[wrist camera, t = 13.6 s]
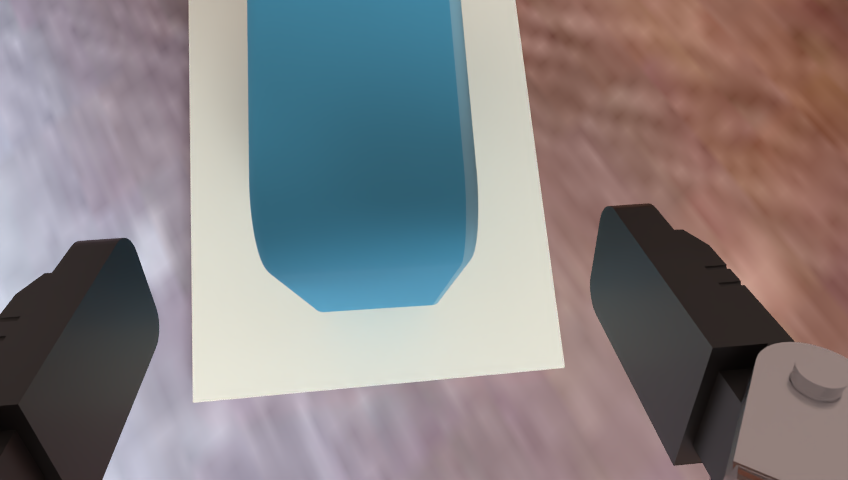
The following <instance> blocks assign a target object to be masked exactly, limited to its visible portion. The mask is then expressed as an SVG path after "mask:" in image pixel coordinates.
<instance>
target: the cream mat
mask: <svg viewBox="0 0 848 480" xmlns="http://www.w3.org/2000/svg"><path fill="white" fill-rule="evenodd" d="M461 7H462V18H463V29H464V40H465V50H466V61H467V72H468V83H469V94H470V104H471V115H472V126H473V137H474V148H475V158H476V169H477V183H478V231H477V241H476V247H475V251H474V254H473V257H472V258H471V260H470V261H469V263H468V264H467V265H466V267H465V268H464V269H463V271H462V272H461V273H460V274H459V276H458V277H457V278H456V280H455V281H454V282H453V284H452V285H451V286H450V287H449V289H448V290H447V291H446V293H445V294H444V295H443V297H442V298H441V299H440V300H439V302H438V303H437V304H435V305H427V306H411V307H396V308H380V309H365V310H350V311H334V312H319V311H317V310H316V309H315V308H313V307H312V306H311V305H310V304H308V303H307V302H306V301H304V300H303V299H302V298H301V297H299V296H298V295H297V294H295V293H294V292H293V291H292V290H290V289H289V288H288V287H287V286H285V285H284V284H283V283H281V282H280V281H279V280H278V279H276V278H275V277H274V276H272V275H271V274H270V273H269V272H268V271H267V270H266V269H265V267H264V265H263V264H262V261H261V259H260V256H259V253H258V249H257V246H256V241H255V237H254V231H253V224H252V217H251V208H250V193H249V132H248V41H247V0H189V85H190V176H191V266H192V357H193V403H195V402H206V401H217V400H227V399H238V398H248V397H259V396H270V395H280V394H291V393H302V392H312V391H323V390H333V389H344V388H355V387H365V386H376V385H387V384H397V383H408V382H418V381H429V380H440V379H450V378H461V377H472V376H482V375H493V374H503V373H514V372H525V371H535V370H546V369H557V368H565V366H564V358H563V351H562V343H561V336H560V329H559V321H558V314H557V306H556V299H555V291H554V284H553V277H552V269H551V262H550V254H549V247H548V240H547V232H546V225H545V217H544V210H543V202H542V195H541V188H540V180H539V173H538V165H537V158H536V150H535V143H534V136H533V128H532V121H531V113H530V106H529V99H528V91H527V84H526V76H525V69H524V61H523V54H522V47H521V39H520V32H519V24H518V17H517V9H516V2H515V0H461Z"/></svg>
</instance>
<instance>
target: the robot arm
mask: <svg viewBox="0 0 848 480" xmlns="http://www.w3.org/2000/svg"><path fill="white" fill-rule="evenodd" d="M590 292H591V299H592V304H593V308H594V310H595V313H596V315H597V317H598V319H599V321H600V323H601V325H602V327H603V329H604V331H605V333H606V335H607V336H608V338H609V340H610V342H611V344H612V346H613V348H614V350H615V352H616V354H617V356H618V358H619V360H620V362H621V364H622V366H623V368H624V370H625V372H626V374H627V375H628V377H629V379H630V381H631V383H632V385H633V387H634V389H635V391H636V393H637V395H638V397H639V399H640V401H641V403H642V405H643V407H644V409H645V411H646V413H647V415H648V416H649V418H650V420H651V422H652V424H653V426H654V428H655V430H656V432H657V434H658V436H659V438H660V440H661V442H662V444H663V446H664V448H665V450H666V452H667V454H668V455H669V457H670V459H671V461H672V463H673V465H674V466H675V465H685V464H696V463H703V465H704V466H705V468H706V470H707V472H708V473H709V475H710V479H709V480H848V359H847V358H845V357H843V356H842V355H840V354H837V353H835V352H833V351H831V350H828V349H825V348H822V347H819V346H815V345H811V344H806V343H800V342H794V340H793V339H792V338H791V337H790V336H789V335H788V334H787V333H786V331H785V330H784V329H783V328H782V327H781V326H780V325H779V324H778V322H777V321H776V320H775V319H774V318H773V317H772V316H771V314H770V313H769V312H768V311H767V310H766V309H765V308H764V307H763V305H762V304H761V303H760V302H759V301H758V300H757V299H756V298H755V296H754V295H753V294H752V293H751V292H750V291H749V290H748V289H747V287H746V286H745V285H741V281H740V280H739V278H738V277H737V276H736V275H735V274H734V273H733V272H732V271H731V269H727V268H726V264H725V263H724V262H723V260H722V259H721V258H720V257H719V256H718V255H717V254H716V253H715V251H714V250H713V249H712V248H711V247H710V246H709V245H708V244H706V243H704V242H703V241H701V240H699V239H698V238H696V237H694V236H693V235H691V234H689V233H688V232H686V231H684V230H674V229H673V228H672V227H671V226H670V225H669V223H668V222H667V221H666V220H665V219H664V217H663V216H662V215H661V214H660V212H659V211H658V210H657V209H656V208H655V207H654V206H653V205H652V204H634V205H620V206H608V207H606V208H605V209H604V210H603V212H602V214H601V218H600V223H599V229H598V236H597V242H596V248H595V254H594V260H593V266H592V272H591V279H590ZM158 337H159V319H158V313H157V309H156V306H155V303H154V300H153V297H152V295H151V292H150V289H149V286H148V283H147V280H146V277H145V275H144V272H143V269H142V266H141V263H140V260H139V257H138V255H137V252H136V249H135V247H134V245H133V244H132V242H131V241H130V240H129V239H127V238H115V239H100V240H86V241H77V242H75V243H74V244H73V245H72V246H71V247H70V249H69V250H68V252H67V253H66V254H65V256H64V257H63V259H62V260H61V261H60V263H59V264H58V265H57V267H56V268H55V270H54V271H53V272H52V273H44V274H43V275H42V276H40V277H39V278H38V279H36V280H35V281H33V282H32V283H31V284H29V285H28V286H27V287H25V288H24V289H22V290H21V291H20V292H18V293H17V294H16V295H15V296H14V297H13V299H12V300H11V301H10V302H9V304H8V305H7V306H6V308H5V309H4V310H3V311H2V313H1V314H0V480H102V479H103V477H104V474H105V472H106V469H107V467H108V464H109V462H110V459H111V457H112V454H113V452H114V449H115V447H116V445H117V442H118V440H119V437H120V435H121V432H122V430H123V427H124V425H125V422H126V420H127V417H128V415H129V413H130V410H131V408H132V405H133V403H134V400H135V398H136V395H137V393H138V390H139V388H140V386H141V383H142V381H143V378H144V376H145V373H146V371H147V368H148V366H149V363H150V361H151V358H152V356H153V354H154V351H155V349H156V346H157V342H158Z"/></svg>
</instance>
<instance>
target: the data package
mask: <svg viewBox="0 0 848 480" xmlns="http://www.w3.org/2000/svg"><path fill="white" fill-rule="evenodd" d="M247 41H248V132H249V193H250V208H251V217H252V224H253V231H254V237H255V241H256V246H257V249H258V253H259V256H260V259H261V261H262V264H263V265H264V267H265V269H266V270H267V271H268V272H269V273H270V274H271V275H272V276H274V277H275V278H276V279H278V280H279V281H280V282H281V283H283V284H284V285H285V286H287V287H288V288H289V289H290V290H292V291H293V292H294V293H295V294H297V295H298V296H299V297H301V298H302V299H303V300H304V301H306V302H307V303H308V304H310V305H311V306H312V307H313V308H315V309H316V310H317V311H319V312H334V311H350V310H365V309H380V308H396V307H411V306H427V305H435V304H437V303H438V302H439V300H440V299H441V298H442V297H443V295H444V294H445V293H446V291H447V290H448V289H449V287H450V286H451V285H452V284H453V282H454V281H455V280H456V278H457V277H458V276H459V274H460V273H461V272H462V271H463V269H464V268H465V267H466V265H467V264H468V263H469V261H470V260H471V258H472V257H473V254H474V251H475V247H476V241H477V231H478V183H477V169H476V158H475V148H474V137H473V126H472V115H471V104H470V94H469V83H468V72H467V61H466V50H465V40H464V29H463V18H462V7H461V0H247Z"/></svg>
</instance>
